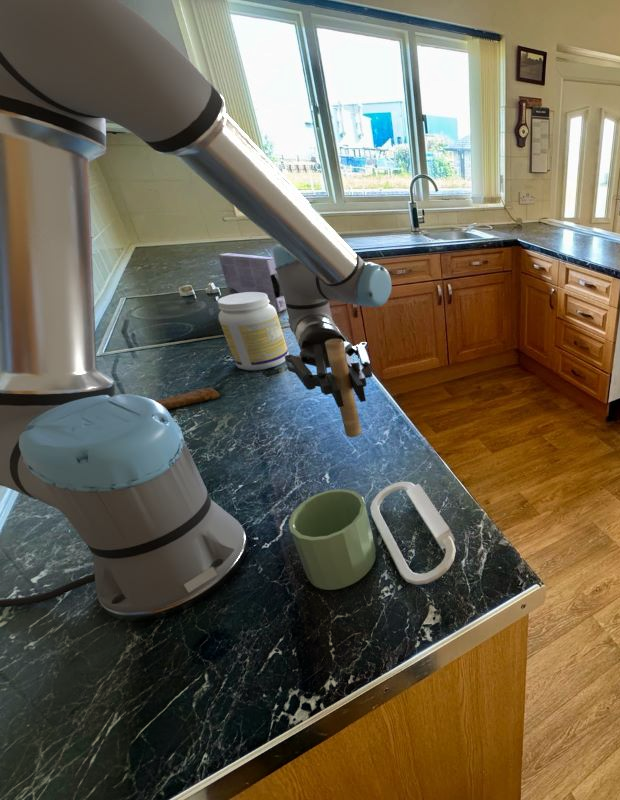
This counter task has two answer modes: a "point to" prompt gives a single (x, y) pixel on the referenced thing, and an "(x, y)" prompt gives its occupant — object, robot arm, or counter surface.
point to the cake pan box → (253, 277)
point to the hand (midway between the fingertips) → (350, 395)
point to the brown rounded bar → (189, 398)
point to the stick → (343, 386)
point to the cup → (333, 538)
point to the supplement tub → (252, 330)
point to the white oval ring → (432, 522)
